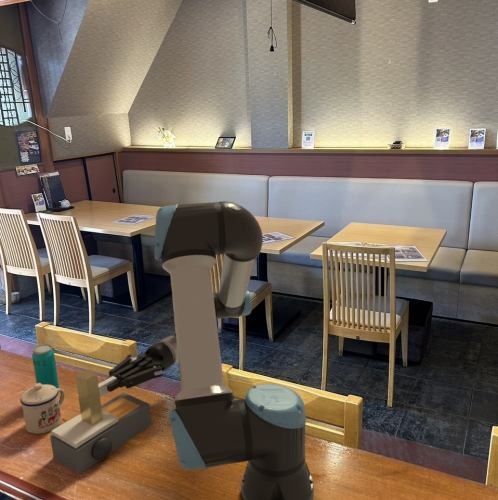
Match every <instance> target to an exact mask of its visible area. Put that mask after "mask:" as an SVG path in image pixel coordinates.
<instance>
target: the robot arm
mask: <svg viewBox="0 0 498 500" xmlns="http://www.w3.org/2000/svg"><path fill="white" fill-rule="evenodd" d="M259 223H260V222H259V221H258V220H257V218H256V217H255V216H254V215H253V214H252V213H251V212H250V211H249V210H248V209H247V208H245V207H243V206H242V205H240V204H238V203H235V202H234V201H233V202H231V201H218V202H217V201H216V202H214V201H213V202H199V203H185V204H179V203H176V204H173V205H165V206H161V207H160V208H158V210H157V212H156V215H155V229H154V231H155V232H154V259H155V260H157V261H159V262H160V261H161V264H162V265H161V267H162V268H163V270H165V271H166V272H167V273H168V274H169V275H170V286H171V294H172V296H171V297H172V309H173V310H172V311H173V321H174V333H173V334H171V335H170V336H168V337H165V338H163V339H162V340H160V341H158V342H156V343H154V344H152V345H151V346H148V347H147V349H146V351H145V352H144V354H140V355H138V356H137V357H132V355H131V354H127V356H126V357H125V358H124V359H123V360H122V361H120V363H118V364H117V365H115V366H114V367H113V368H112V369H110V370H109V371H108V377H107V378H106V379H104V380H101V382H98V386H99V394H100V398H102V397H103V396H105V395H107V394H108V393H112V392H113V391H116V390H117V389H119V388H124V387H125V388H126V390H127V389H131V388H134V387H136V386H139V385H141V384H143V383H146V382H148V381H150V380H153V379H157V378H162V377H163V372H164V371H166V370H168V369H169V368H171V367H172V366H174V365H176V364H178V367H179V378H180V388H181V389H180V390H179V391H180V392H178V394H177V395H176V396H175V398H174V407H172V408H171V409H169V411H168V417H169V422H170V426H171V430H172V434H173V439H174V445H175V448H176V450H175V451H176V453H177V457H178V462H179V465H180V467H181V468H182V469H184V470H185V471H191V470H192V471H193V470H200V469H201V470H202V469H203V470H207V469H208V468H213V467H219V466H220V467H221V466H225V465H226V466H227V465H231V464H238V463H244V462H247V464H246V466H245V470H244V473H243V476H242V479H241V484H240V488H241V490H240V491H241V498H242V500H314V497H315V496H314V495H315V491H314V490H315V487H314V480H313V477H312V475H311V472H310V469H309V467H308V464H307V461H306V423H307V417H306V416H307V415H306V410H305V409H306V408H305V402H304V400H303V399H302V397H301V395H299V394H298V393H297V392H296V391H295V390H293V389H291V388H289V387H287V386H285V385H281V384H275V383H260V384H256V385H254V386H253V387H251V388H249V389H248V390H247V393H245V394H246V395H245V397H244V398H241V399H235V400H234V394H233V390H232V389H231V388H230V387H228V386H227V385H226V384H225V382H224V375H223V367H222V366H223V365H222V357H221V351H220V340H219V331H218V323H217V319H218V320H219V319H228V318H230V319H231V318H240V317H244V316H248V315H250V314H251V313H252V298H251V297H252V296H251V293H250V291H249V290H248V286H249V283H250V279H251V275H252V271H253V267H254V262H255V260H256V259H257V258H258V257H259V255H260V254H261V251H262V246H263V242H264V241H263V240H264V239H263V238H264V237H263V232H262V231H263V230H262V227H261V225H260V224H259ZM217 255H218V256H219V255H220V256H221V255H223V257H222V259H223V260H222V266H221V273H220V274H221V275H220V282H219V291H218V292H214V291H213V290H214V289H213V282H212V273H211V270H212V269H213V267H214V266H215V264H216V263H217Z"/></svg>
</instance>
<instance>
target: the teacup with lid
mask: <svg viewBox="0 0 498 500" xmlns="http://www.w3.org/2000/svg"><path fill="white" fill-rule="evenodd" d="M58 392H59V393H58ZM59 394H60V397H59ZM65 396H66V393H65V390H64V389H63V388H60V387H59V388H56V387H55V386H53V385H42V384H41V383H35V384H34V385H33V386H32V387H30V388H27V390H25V391H24V392H23V393H22V394H21V395H20V399H19V400H20V403H21V407H22V412H23V419H24V423H25V429H26V430H27V432H28V433H31V434H35V435H40V434H45V433H49V432H52V430H53V429H55V428H57V427H59V426H60V424H61V423H62V413H61V406H62V404H63V403H64V401H65Z"/></svg>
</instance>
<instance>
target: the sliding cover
mask: <svg viewBox="0 0 498 500" xmlns="http://www.w3.org/2000/svg"><path fill="white" fill-rule="evenodd" d="M98 379H99V378H98V374H97V373H94V372H92V371H90V370H88V369H85V370H83V371H81V372H79V373H76V374H75V382H76V388H77V389H76V390H77V395H78V396H77V397H78V403H79V410H80V411H79V412H80V414H78V415H76V416H74V417H73V418H71V419H69V420H68V421H65V422H64V423H62V424H61V425H60V424H59V425H58V426H57V427H56V428H55V429H53V430H51V435H54V436H56V437H57V438H59V439H61V440H62V441H64V442H66V443H68V444H69V445H71V446H73V447H74V448H77V447H79V446H80V445H82V444H83V443H85V442H87V441H88V440H90V439H91V438H93V437H94V436H96V435H98V434H99V433H101V432H102V431H104V430H105V429H107V428H109V427H110V426H112V425H113V424H115V423H116V422H118V417H116V416H114V415H112V414H110V413H108V412H106V411H104V410H102V409H101V405H102V403H101V397H100V394H99V386H98V384H99V380H98Z"/></svg>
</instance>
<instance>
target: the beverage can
mask: <svg viewBox="0 0 498 500" xmlns="http://www.w3.org/2000/svg"><path fill="white" fill-rule="evenodd" d="M31 354H32V355H31V357H32V358H31V359H32V365H33V370H34V377H35V384H37V383H41V384H42V385H53V386H55V387H56V388H60V381H59V375H58V369H57V362H56V357H55V355H56V354H55V351H54V349H53V346H52V345H51V344H40V345H37V346H35V347H34V348H32V353H31ZM58 394H60V392H58Z"/></svg>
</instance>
